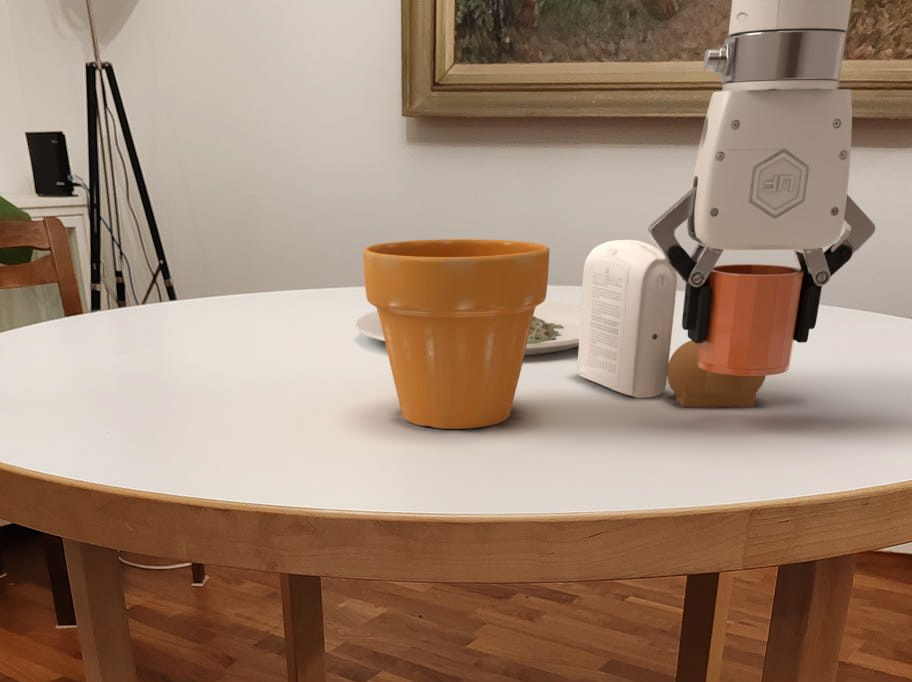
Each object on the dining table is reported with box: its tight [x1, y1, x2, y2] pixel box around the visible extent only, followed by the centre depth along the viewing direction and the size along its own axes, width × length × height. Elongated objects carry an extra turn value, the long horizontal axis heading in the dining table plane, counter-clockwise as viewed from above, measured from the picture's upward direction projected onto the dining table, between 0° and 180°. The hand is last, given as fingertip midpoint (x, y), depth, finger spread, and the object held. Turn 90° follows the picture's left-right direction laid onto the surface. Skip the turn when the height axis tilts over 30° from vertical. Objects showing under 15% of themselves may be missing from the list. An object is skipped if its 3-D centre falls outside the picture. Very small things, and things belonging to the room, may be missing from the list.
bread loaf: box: [667, 339, 767, 408], centre depth 83 cm, size 8×5×5 cm, turn 89°
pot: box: [697, 263, 804, 377], centre depth 74 cm, size 7×7×7 cm
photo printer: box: [577, 239, 678, 399], centre depth 87 cm, size 10×4×12 cm, turn 23°
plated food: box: [355, 300, 582, 356], centre depth 111 cm, size 30×30×3 cm
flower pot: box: [362, 238, 551, 430], centre depth 78 cm, size 14×14×13 cm
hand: (746, 337), depth 74 cm, fingers closed on pot, 6 cm apart
